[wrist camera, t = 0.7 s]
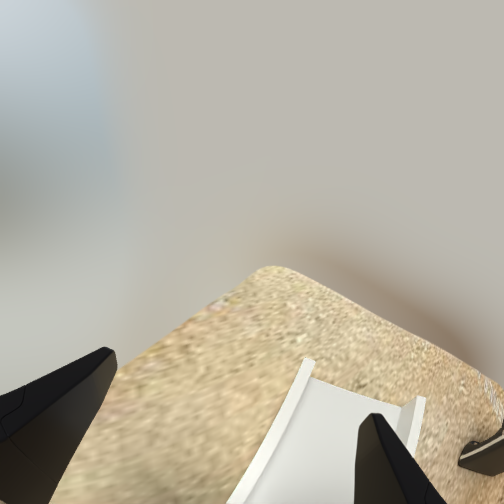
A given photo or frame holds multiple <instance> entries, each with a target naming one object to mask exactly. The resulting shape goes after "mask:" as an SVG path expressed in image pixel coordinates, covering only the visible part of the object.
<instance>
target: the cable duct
mask: <svg viewBox="0 0 504 504" xmlns="http://www.w3.org/2000/svg"><path fill="white" fill-rule="evenodd" d="M315 362H316V361H314V360H311V359H309V358H306V357H305V358H304V360H303V363H302V365H301V367H300V369H299V371H298V373H297V376H296V378H295V380H294V382H293V384H292V386H291V388H290V390H289V392H288V394H287V397H286V399H285V401H284V403H283V405H282V407H281V409H280V411H279V412H278V414H277V416H276V418H275V420H274V422H273V424H272V426H271V428H270V430H269V432H268V433H267V435H266V437H265V439H264V441H263V443H262V444H261V446H260V448H259V450H258V452H257V453H256V455H255V457H254V459H253V460H252V462H251V464H250V465H249V467H248V469H247V470H246V472H245V474H244V475H243V477H242V479H241V480H240V482H239V484H238V485H237V487H236V488H235V490H234V492H233V493H232V495H231V496H230V498H229V499H228V501H227V502H226V504H354V478H355V457H356V448H357V438H358V429H359V426H360V424H361V423H362V422H363V421H364V419H365V418H366V417H367V416H368V415H369V414H370V413H381V414H382V415H383V416H384V418H385V419H386V420H387V422H388V423H389V425H390V426H391V427H392V429H393V430H394V431H395V433H396V434H397V436H398V437H399V438H400V440H401V441H402V443H403V444H404V445H405V447H406V448H407V450H408V451H409V452H410V454H411V455H412V457H413V458H414V455H415V451H416V447H417V443H418V438H419V434H420V429H421V424H422V419H423V414H424V408H425V402H426V398H425V397H422V396H418V395H417V396H416V397H415V398H413V399H412V400H411V401H409V402H408V403H407V404H405V405H404V406H403V407H399V406H395V405H392V404H388V403H385V402H382V401H379V400H375V399H372V398H369V397H366V396H363V395H360V394H357V393H354V392H351V391H348V390H345V389H342V388H339V387H337V386H334V385H331V384H328V383H325V382H323V381H320V380H317V379H315V378H312V377H310V374H311V372H312V369H313V367H314V365H315Z"/></svg>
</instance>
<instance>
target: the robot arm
mask: <svg viewBox="0 0 504 504" xmlns="http://www.w3.org/2000/svg"><path fill="white" fill-rule="evenodd" d="M116 371H117V360H116V354H115V352H114V350H112V349H110V348H108V347H102V348H100V349H98V350H96V351H94V352H92V353H90V354H88V355H86V356H84V357H82V358H80V359H78V360H76V361H74V362H71V363H69V364H68V365H65V366H63V367H61V368H59V369H57V370H55V371H53V372H51V373H49V374H47V375H45V376H43V377H41V378H39V379H37V380H35V381H32V382H30V383H28V384H27V385H24V386H22V387H20V388H18V389H16V390H13V391H11V392H9V393H6V394H3V395H1V396H0V504H49V502H50V500H51V498H52V496H53V494H54V492H55V490H56V488H57V486H58V483H59V481H60V479H61V477H62V476H63V474H64V472H65V470H66V468H67V466H68V464H69V462H70V460H71V459H72V457H73V455H74V453H75V451H76V449H77V447H78V446H79V444H80V442H81V440H82V438H83V437H84V435H85V433H86V431H87V430H88V428H89V426H90V424H91V422H92V421H93V419H94V417H95V416H96V414H97V412H98V410H99V409H100V407H101V405H102V403H103V401H104V398H105V396H106V394H107V392H108V389H109V387H110V385H111V382H112V380H113V378H114V376H115V373H116ZM354 504H447V503H446V502H445V501H444V499H443V498H442V497H441V496H440V494H439V493H438V492H437V490H436V489H435V488H434V486H433V485H432V483H431V482H430V481H429V479H428V478H427V476H426V475H425V474H424V472H423V471H422V469H421V468H420V467H419V465H418V464H417V462H416V461H415V460H414V458H413V457H412V455H411V454H410V452H409V451H408V450H407V448H406V447H405V445H404V444H403V443H402V441H401V440H400V438H399V437H398V436H397V434H396V433H395V431H394V430H393V429H392V427H391V426H390V425H389V423H388V422H387V420H386V419H385V418H384V416H383V415H382V414H381V413H370V414H369V415H368V416H367V417H366V418H365V419H364V421H363V422H362V423H361V424H360V426H359V429H358V438H357V448H356V457H355V478H354Z"/></svg>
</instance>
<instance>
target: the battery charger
mask: <svg viewBox="0 0 504 504" xmlns="http://www.w3.org/2000/svg"><path fill="white" fill-rule="evenodd" d="M459 465H460V466H462V467H465V468H467V469H470V470H473V471H476V472H479V473H483V474H486V475H490V476H495V475H498V474H500V473H503V472H504V420H503V423H502V428H500V429H499V430H498V432H497V433H496V434H495V435H494V436H492V437H490V438H489V439H487V440H485V441H483V442H481V443H479V442H476V441H471V442H469V443H468V444H467V445H466V446H465V448H464V450H463V453H462V456H461V457H460V462H459Z"/></svg>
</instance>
